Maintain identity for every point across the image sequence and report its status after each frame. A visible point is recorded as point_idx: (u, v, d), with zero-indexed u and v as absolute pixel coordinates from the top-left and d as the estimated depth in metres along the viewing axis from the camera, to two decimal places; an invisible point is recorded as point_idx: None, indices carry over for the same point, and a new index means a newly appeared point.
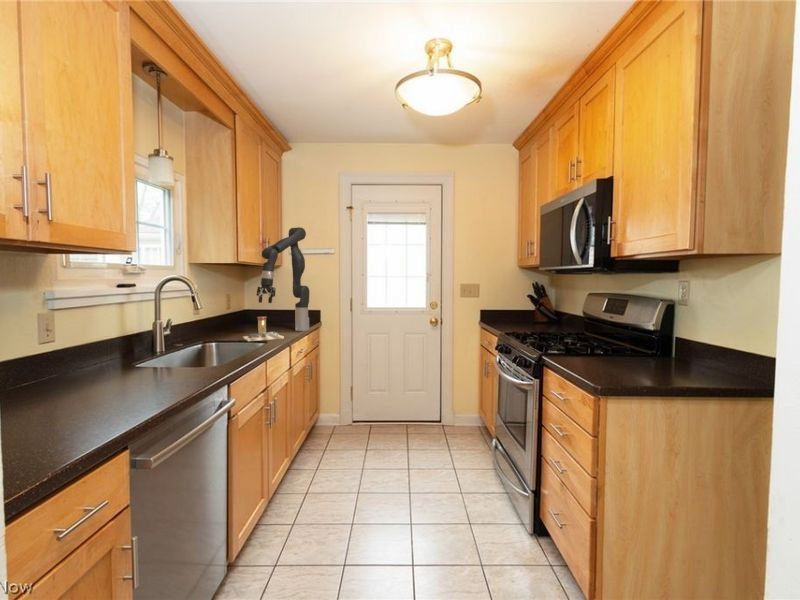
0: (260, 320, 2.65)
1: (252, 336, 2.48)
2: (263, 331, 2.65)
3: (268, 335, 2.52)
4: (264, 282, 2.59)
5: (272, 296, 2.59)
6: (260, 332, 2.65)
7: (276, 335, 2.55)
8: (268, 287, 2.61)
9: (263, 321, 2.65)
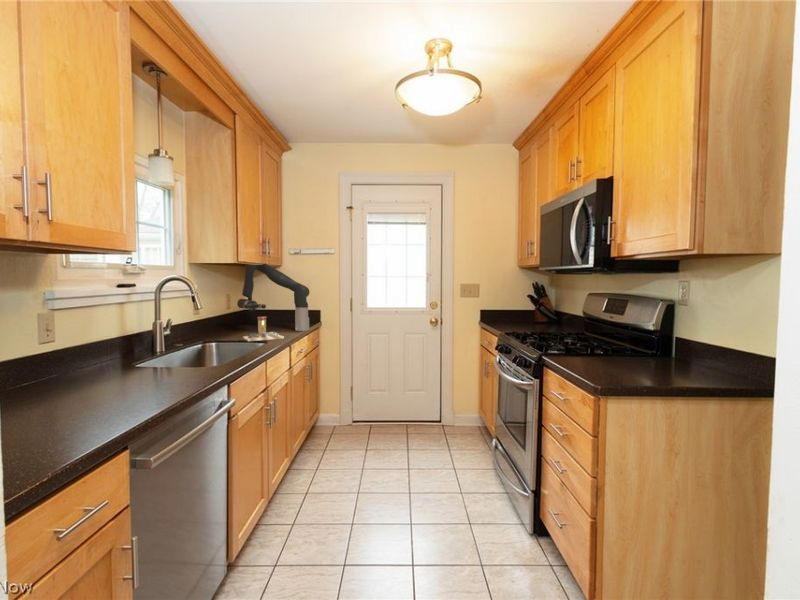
0: (260, 320, 2.65)
1: (252, 336, 2.48)
2: (263, 331, 2.65)
3: (268, 335, 2.52)
4: (250, 310, 2.85)
5: (246, 307, 2.75)
6: (260, 332, 2.65)
7: (276, 335, 2.55)
8: None
9: (263, 321, 2.65)
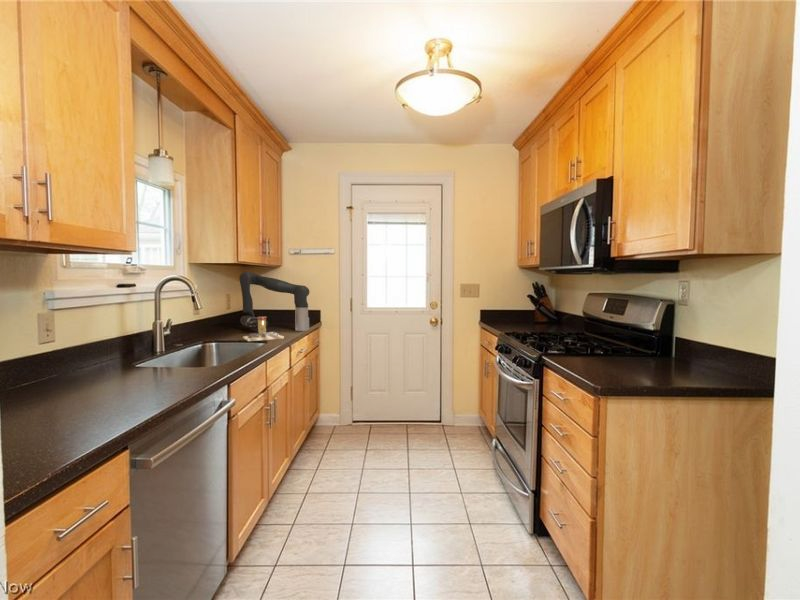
0: (260, 320, 2.65)
1: (252, 336, 2.48)
2: (263, 331, 2.65)
3: (268, 335, 2.52)
4: (252, 327, 2.82)
5: (248, 324, 2.72)
6: (260, 332, 2.65)
7: (276, 335, 2.55)
8: None
9: (263, 321, 2.65)
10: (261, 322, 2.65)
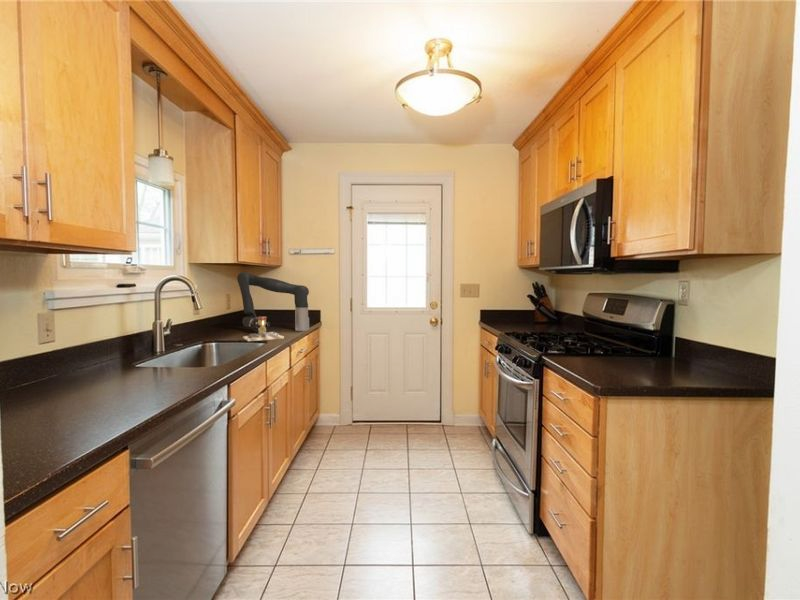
0: (260, 320, 2.64)
1: (252, 336, 2.48)
2: (263, 331, 2.65)
3: (268, 335, 2.52)
4: None
5: (253, 326, 2.66)
6: (260, 332, 2.65)
7: (276, 335, 2.55)
8: None
9: (263, 321, 2.65)
10: (261, 322, 2.65)
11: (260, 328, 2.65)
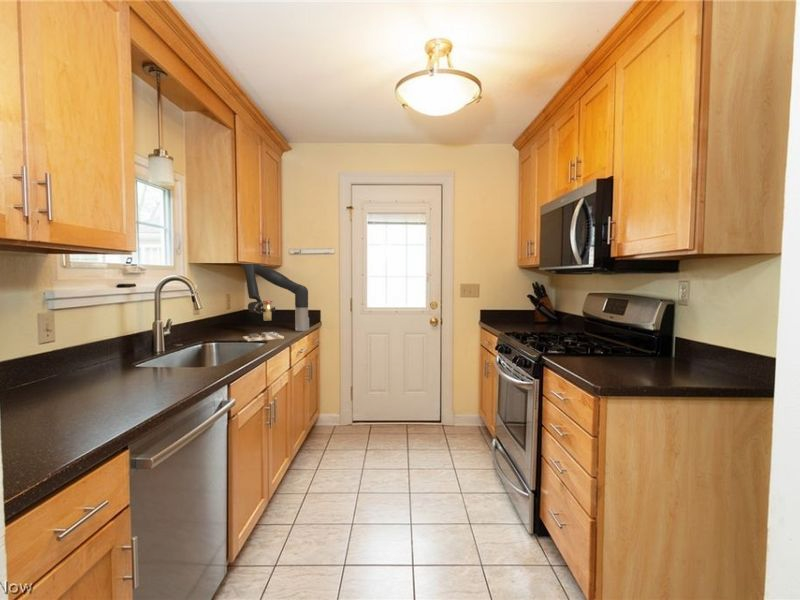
0: (265, 304, 2.55)
1: (252, 336, 2.48)
2: (268, 316, 2.56)
3: (268, 335, 2.52)
4: (260, 313, 2.66)
5: (259, 310, 2.56)
6: (265, 317, 2.55)
7: (276, 335, 2.55)
8: (259, 310, 2.63)
9: (269, 305, 2.55)
10: (267, 306, 2.55)
11: (265, 312, 2.55)
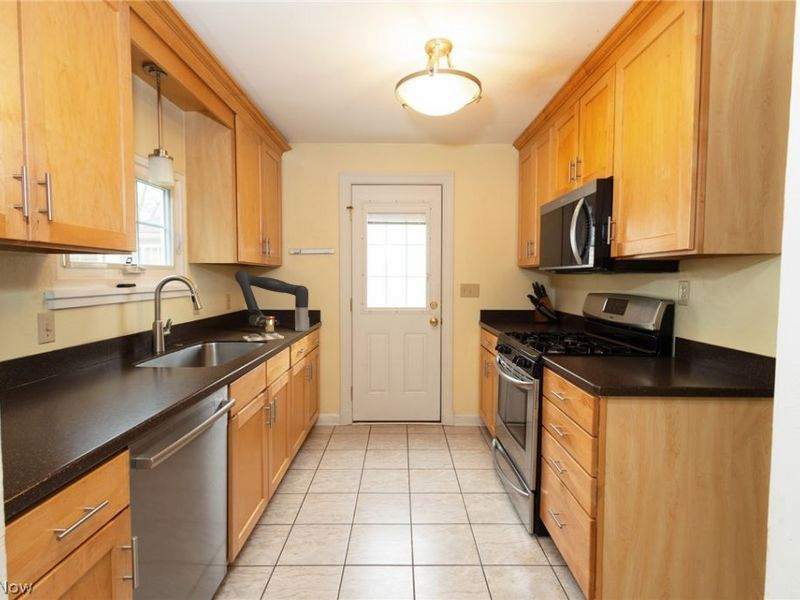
0: (268, 320, 2.54)
1: (252, 336, 2.48)
2: (271, 331, 2.55)
3: (268, 335, 2.52)
4: None
5: (258, 324, 2.55)
6: (268, 332, 2.54)
7: (276, 335, 2.55)
8: None
9: (271, 321, 2.54)
10: (269, 322, 2.54)
11: (268, 328, 2.54)
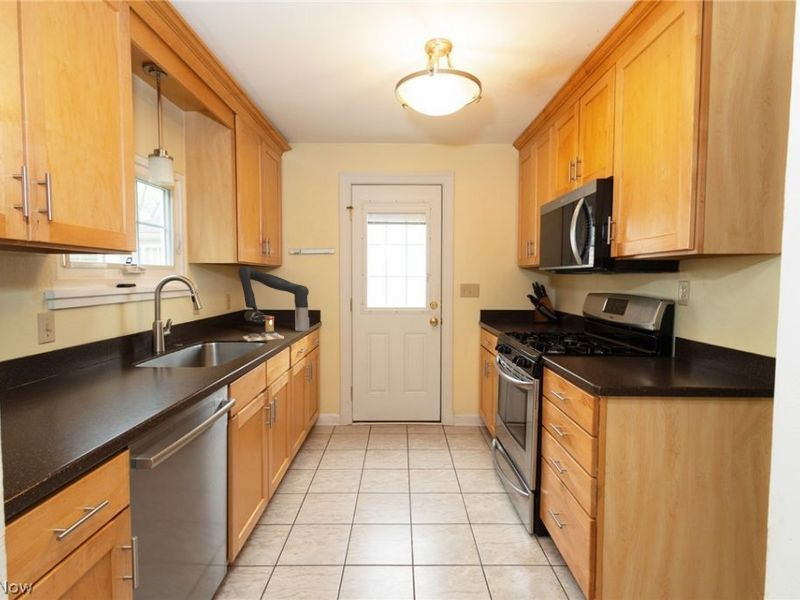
0: (268, 320, 2.53)
1: (252, 336, 2.48)
2: (271, 332, 2.54)
3: (268, 335, 2.52)
4: (257, 322, 2.76)
5: (253, 319, 2.66)
6: (268, 333, 2.54)
7: (276, 335, 2.55)
8: None
9: (271, 321, 2.54)
10: (269, 322, 2.54)
11: (267, 328, 2.54)
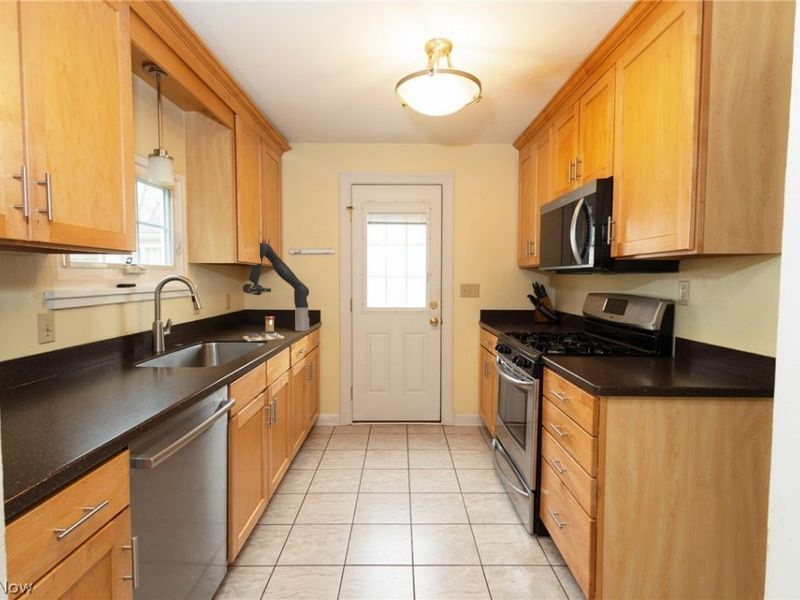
0: (268, 320, 2.53)
1: (252, 336, 2.48)
2: (271, 332, 2.54)
3: (268, 335, 2.52)
4: (255, 294, 2.82)
5: (251, 290, 2.71)
6: (267, 333, 2.54)
7: (276, 335, 2.55)
8: (254, 291, 2.78)
9: (271, 321, 2.54)
10: (269, 322, 2.54)
11: (267, 328, 2.54)
